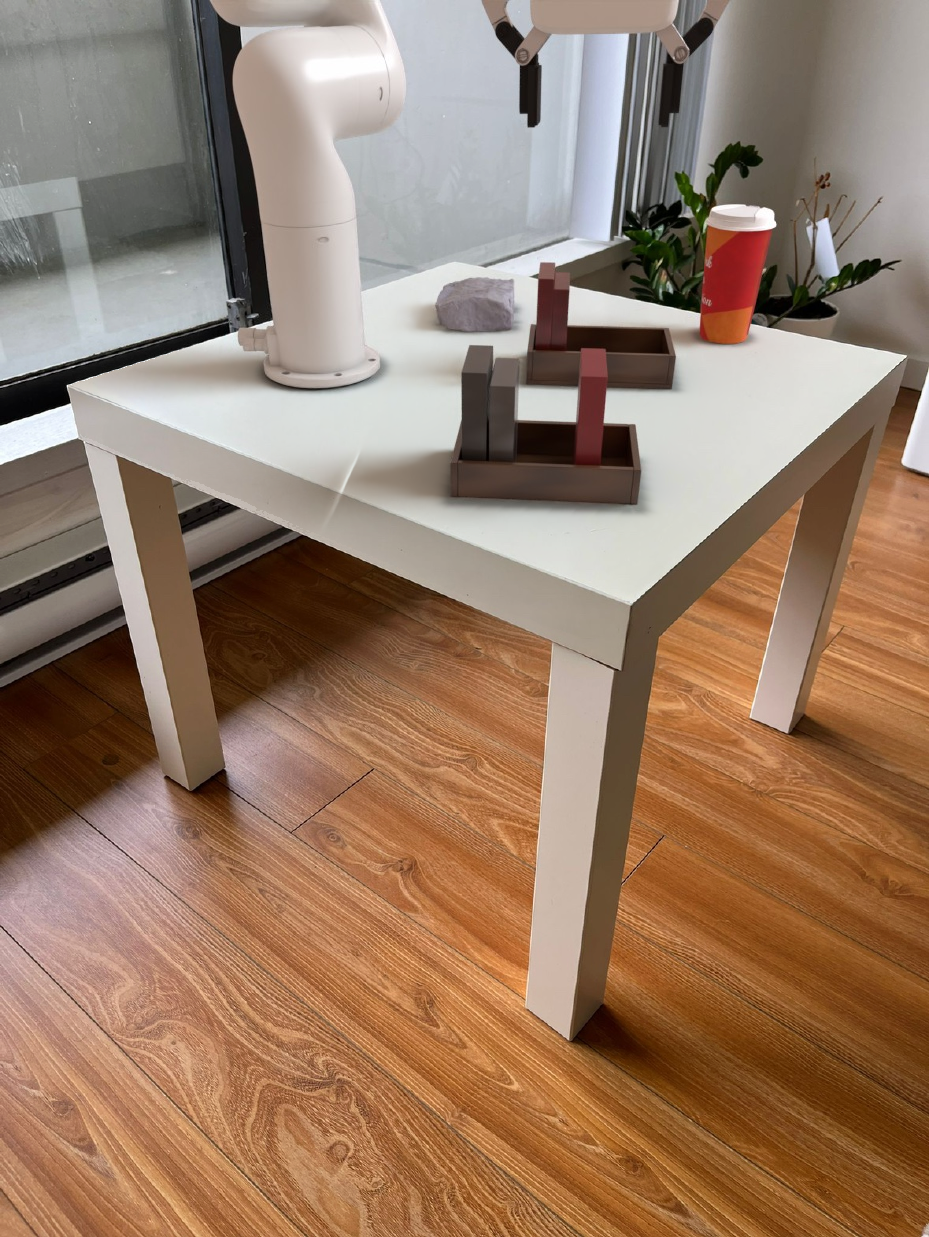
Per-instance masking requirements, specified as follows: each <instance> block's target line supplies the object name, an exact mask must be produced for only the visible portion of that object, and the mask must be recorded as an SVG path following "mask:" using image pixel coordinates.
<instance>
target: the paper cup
mask: <svg viewBox="0 0 929 1237" xmlns="http://www.w3.org/2000/svg"><path fill="white" fill-rule="evenodd" d="M704 223H705V224H706V225H707V229H706V240H705V252H704V265H703V278H702V288H701V290H702V292H701V304H700V315H699V316H700V317H699V337H700V338H701V339H703V340H704V341H706V342H710V343H714V344H722V345H733V344H735V345H736V344H740V343H744V342H746V340H747V338H748V336H749V332H750V329H751V325H752V320H753V318H754V317H753V316H754V312H755V309H756V308H755V307H756V303H757V299H758V296H759V295H758V294H759V290H760V287H761V281H762V277H763V273H764V268H765V263H766V259H767V257H768V256H767V255H768V251H769V247H770V242H771V238H772V233H773V229H774V228H776V227H777V223H776V220H775V211H774V210H773V209H771V208H769V207H764V206H763V207H760V206H758V205H751V204H750V205H747V204H738V203H737V204H736V203H735V204H722V205H716V206H713V207H712V208H711V209H710V212H709V215H708V216H707V218H706V219H705V220H704Z"/></svg>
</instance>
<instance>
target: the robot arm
mask: <svg viewBox="0 0 929 1237" xmlns="http://www.w3.org/2000/svg"><path fill="white" fill-rule="evenodd" d="M510 1H511V0H481V4H482V7H483V8H484V11H485V13H486V15H487V18H488V20H489V22H490V25H491V26H492V28H493V29H492V30H493V31H494V34H495V37H496V38H497V40H498V41H499V42H500V43H501V45H502V46H503V48H505V50H507V51H508V53H509V54H510V55H511V56H512V57H513V58H514V59H515V62H516V63H517V65H519V84H518V86H519V90H518V92H519V93H518V95H519V96H518V98H519V99H518V100H519V101H518V103H519V104H518V108H519V109H518V112H519V115H526V117H527V118H526V119H527V121H526V127H527V128H530V129H531V128H536V127H537V126H538V125H539V124H540V123H541V118H542V116H541V114H542V75H543V74H542V72H543V70H542V69H543V68H542V67H543V66H542V64H540V62H539V53H540V51H541V50H542V48H543V47H544V45H545V44H546V43H547V42H548V40H549V39H550V38H551V36H552V35H616V34H617V35H626V34H627V35H628V34H629V35H630V34H649V33H651V34H652V33H655V35H656V36H657V38H658V39H659V41H660V42H661V44H662V45H663V47H664V49H665V50H666V51H667V52H666V59H665V60H666V61H665V63H663V64H662V71H661V84H660V93H659V94H660V96H659V105H658V106H659V108H658V118H657V119H658V120H657V123H658V124H657V125H658V126H660V127H661V128H669V123H670V114H680V106H681V98H682V97H681V96H682V85H683V77H684V76H683V75H684V66H685V65H684V64H685V63H686V62H687V60H689V58H690V57H691V56H692V55H693V54H694V53H695V52H696V51H697V49H699V48H700V46H702V44H704V42H705V41H707V39H708V38H709V37H711V35H712V34H713V31H714V29H715V28H716V26H717V24H718V22H719V20H720V19H721V17H722V15H723V13H724V12H725V10H726V8H727V6H728V4H729V2H730V1H731V0H705V6H704V8H703V10H702V12H701V14H700V15H699V18H698V20H696V22H695V23H694V24H692V25H691V27H690V28H689V29H688V30H687V31H686V33H684V34H683V36H682V35H681V34H680V32H679V31H678V29H677V28H676V26H675V25H674V23H673V22H674V21H675V19H676V16H677V13H678V8H679V2H680V0H529V8H530V10H529V12H530V19H531V24H532V25H533V27H532V28H531V29H530V31H529V32H528V33H527V35H526V36H523V35H522V33H521V32H520V31H519V29H517V27H516V26H515V25H514V24H513V22H512V21H511V18H510V16H509V13H508V11H507V5H508V3H510ZM209 2H210V3H211V5H212V8H213V9H214V11H215V12H216V13H217V15H219V17H220V18H222V19H223V20H224V21H225V22H226V23H228V24H231V25H232V26H233V25H234V26H237V27H242V28H277V29H271V30H268V31H265V32H263V33H260V34H257V35H255V36H254V37H253V38H251V39H250V40H249V41H247V42H246V43H245V45H243V47H242V48H241V49H240V51H239V53H238V54H237V57H236V59H235V61H234V66H233V71H232V91H233V95H234V101H235V106H236V109H237V112H238V116H239V120H240V123H241V125H242V130H243V132H244V137H245V139H246V144H247V146H248V151H249V154H250V159H251V164H252V170H253V176H254V181H255V187H256V195H257V202H258V210H259V219H260V224H261V225H260V226H261V232H262V240H263V250H264V256H265V258H264V259H265V265H266V273H267V274H266V275H267V281H268V290H269V300H270V307H271V314H272V322H273V324H272V325H267V326H266V328H265V329H263V328H262V329H261V328H256V327H239V328H238V330H237V341H238V345H239V346H240V347H242V350H243V351H244V352H255V353H256V352H264V354H265V355H266V357H265V358H264V360H263V370H264V373H265V376H266V377H267V378H269V379H270V380H271V381H273V382H275V383H278V384H281V385H283V386H288V387H294V388H301V389H328V388H337V387H343V386H349V385H352V384H357V383H359V382H362V381H364V380H367V379H368V378H371V377H372V376H374V375H375V374H376V373H377V372H378V371H379V369H380V368H381V357H380V353H379V352H378V350H376V349H374V348H373V347H371V346H369V345H367V344H366V341H365V327H364V324H365V323H364V312H363V311H364V310H363V309H364V308H363V297H362V296H363V295H362V294H363V293H362V281H361V280H362V279H361V265H360V250H359V235H358V220H357V208H356V198H355V191H354V187H353V184H352V180H351V178H350V175H349V173H348V171H347V169H346V167H345V165H344V163H343V161H342V159H341V157H340V156H339V154H338V151H337V149H336V147H335V144H334V142H338V141H340V140H346V139H353V138H357V137H358V138H359V137H364V136H370V135H374V134H378V133H381V132H384V131H385V130H388V129H389V128H390V127H391V126H393V125H394V124H395V123H396V122H397V120H398V119H399V117H400V116H401V114H402V112H403V110H404V106H405V103H406V98H407V97H406V96H407V77H406V70H405V65H404V61H403V58H402V56H401V55H402V54H401V52H400V49H399V46H398V43H397V40H396V37H395V35H394V33H393V30H392V27H391V25H390V22H389V19H388V18H387V14H386V12H385V9H384V8H383V5H382V2H381V0H209ZM280 27H281V28H280ZM282 27H283V28H282ZM284 27H285V28H284Z"/></svg>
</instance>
